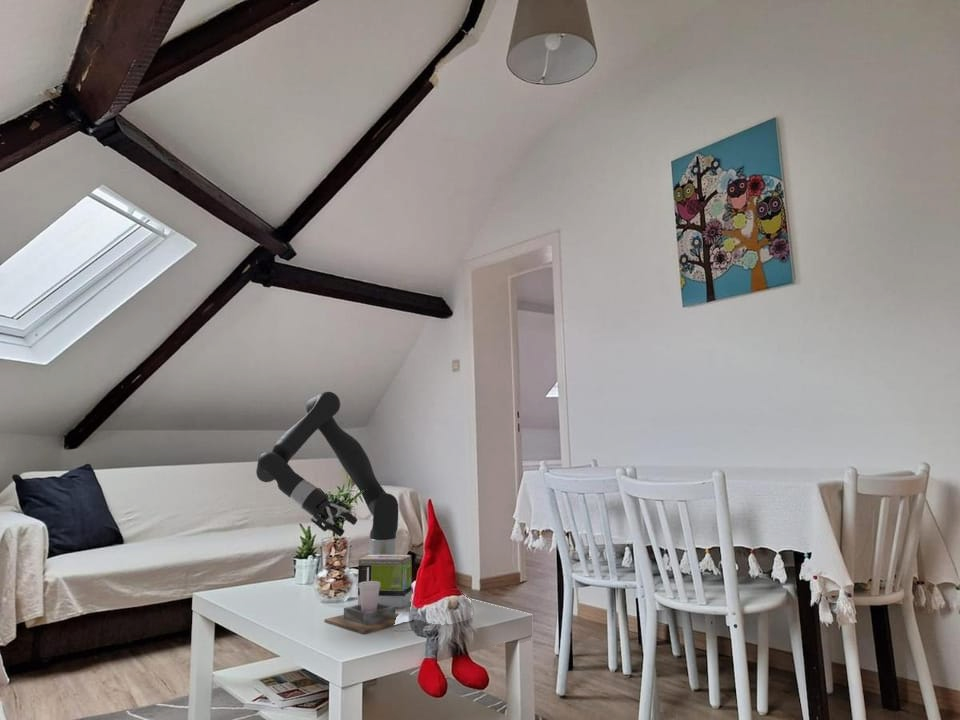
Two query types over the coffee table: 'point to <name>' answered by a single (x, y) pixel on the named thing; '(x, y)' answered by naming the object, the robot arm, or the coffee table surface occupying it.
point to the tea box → (388, 577)
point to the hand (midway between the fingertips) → (349, 528)
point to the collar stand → (365, 618)
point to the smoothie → (369, 594)
